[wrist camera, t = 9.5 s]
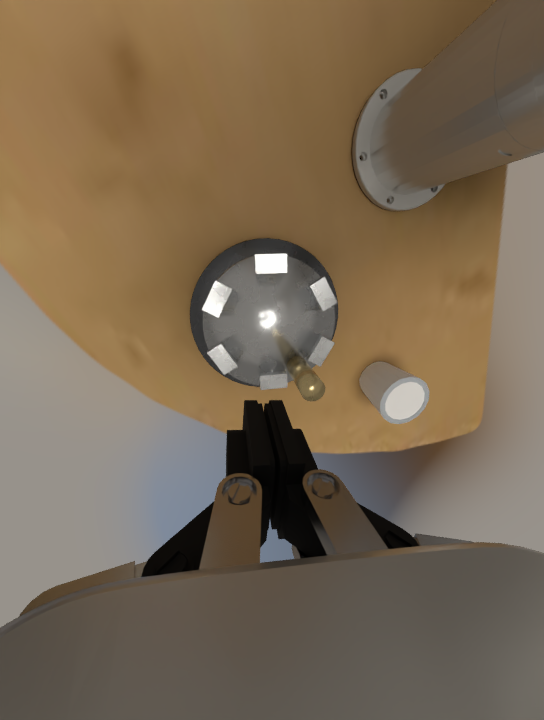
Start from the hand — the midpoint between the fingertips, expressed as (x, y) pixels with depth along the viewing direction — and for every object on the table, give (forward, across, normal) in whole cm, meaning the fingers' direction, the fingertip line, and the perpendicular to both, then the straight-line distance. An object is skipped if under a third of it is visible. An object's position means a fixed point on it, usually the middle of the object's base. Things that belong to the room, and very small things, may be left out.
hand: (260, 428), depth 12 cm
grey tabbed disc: (+22, -3, 0) cm, 22 cm away
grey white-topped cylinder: (+24, -21, +9) cm, 33 cm away
